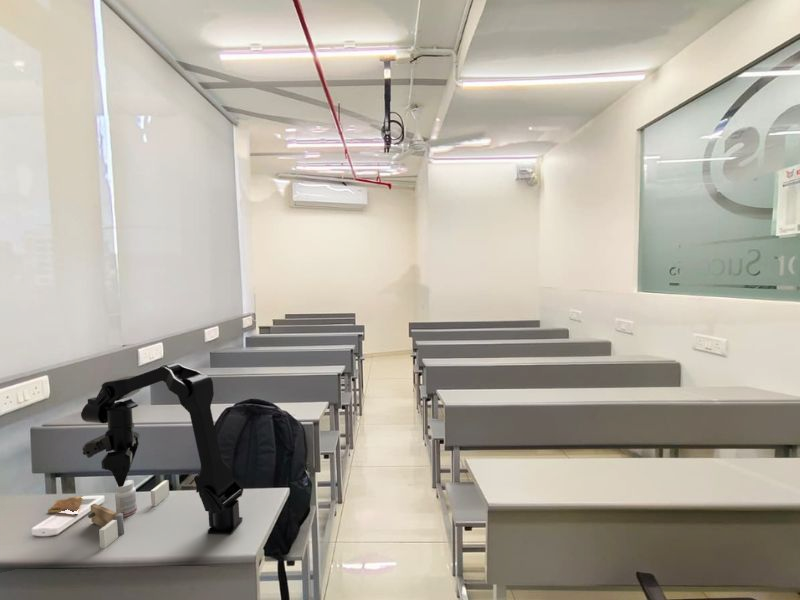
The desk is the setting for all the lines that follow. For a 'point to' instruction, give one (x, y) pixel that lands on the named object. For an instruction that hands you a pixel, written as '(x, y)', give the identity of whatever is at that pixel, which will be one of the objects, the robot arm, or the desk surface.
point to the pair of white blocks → (116, 525)
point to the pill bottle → (126, 498)
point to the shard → (66, 505)
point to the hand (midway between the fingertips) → (124, 479)
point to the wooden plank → (101, 515)
